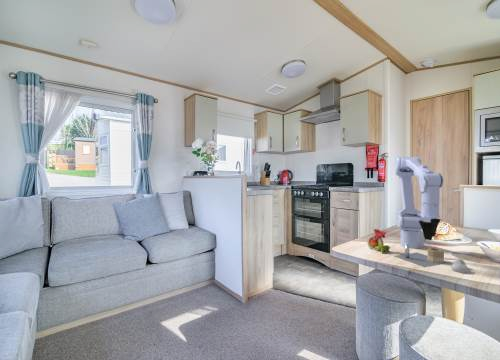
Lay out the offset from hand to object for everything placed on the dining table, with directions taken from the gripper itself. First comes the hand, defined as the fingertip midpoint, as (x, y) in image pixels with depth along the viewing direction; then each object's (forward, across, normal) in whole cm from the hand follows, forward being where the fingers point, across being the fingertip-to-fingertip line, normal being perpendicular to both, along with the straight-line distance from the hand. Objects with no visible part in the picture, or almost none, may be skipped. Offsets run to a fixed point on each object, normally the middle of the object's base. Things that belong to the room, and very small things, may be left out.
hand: (429, 237), depth 95 cm
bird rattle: (+10, 0, -19) cm, 21 cm away
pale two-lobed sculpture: (+10, +4, +10) cm, 15 cm away
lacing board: (+10, +1, -3) cm, 10 cm away
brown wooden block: (+9, -1, +2) cm, 9 cm away
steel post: (+9, +3, -7) cm, 12 cm away
